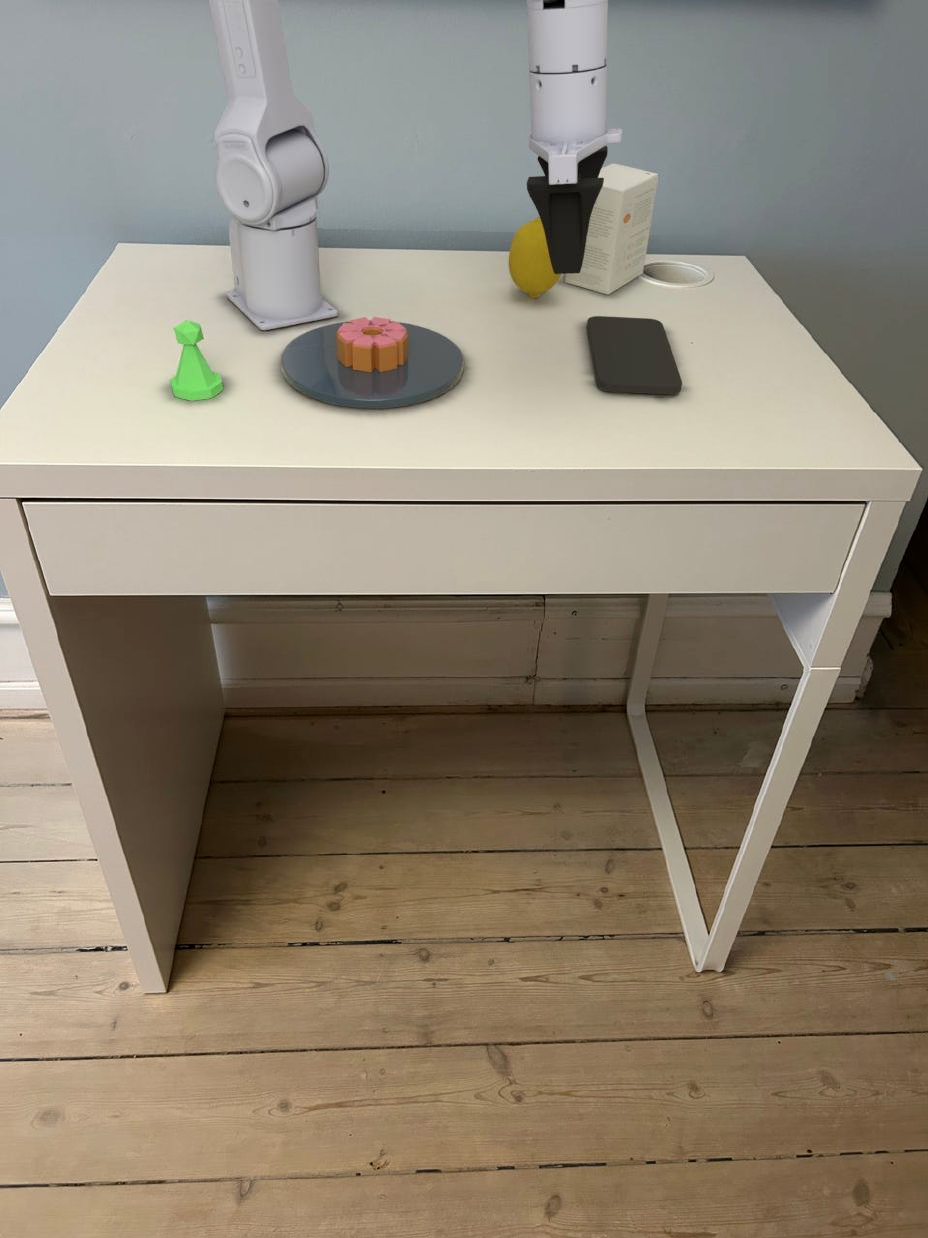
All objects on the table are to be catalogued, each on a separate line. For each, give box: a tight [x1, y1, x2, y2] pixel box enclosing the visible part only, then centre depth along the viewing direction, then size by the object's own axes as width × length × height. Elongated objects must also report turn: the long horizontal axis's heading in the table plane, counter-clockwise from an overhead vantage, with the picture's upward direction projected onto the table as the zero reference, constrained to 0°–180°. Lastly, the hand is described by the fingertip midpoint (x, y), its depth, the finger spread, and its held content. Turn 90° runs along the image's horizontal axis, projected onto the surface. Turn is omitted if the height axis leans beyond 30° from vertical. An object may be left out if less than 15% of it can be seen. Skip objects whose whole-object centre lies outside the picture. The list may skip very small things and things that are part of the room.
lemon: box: [508, 216, 562, 299], centre depth 96 cm, size 6×6×8 cm
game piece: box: [169, 320, 224, 402], centre depth 78 cm, size 4×4×6 cm
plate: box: [280, 319, 465, 409], centre depth 84 cm, size 16×16×1 cm
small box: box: [564, 162, 660, 295], centre depth 100 cm, size 8×6×10 cm
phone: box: [586, 315, 683, 395], centre depth 88 cm, size 7×1×15 cm
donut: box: [336, 316, 408, 372], centre depth 83 cm, size 6×6×2 cm
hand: (570, 257), depth 78 cm, fingers open, 7 cm apart
